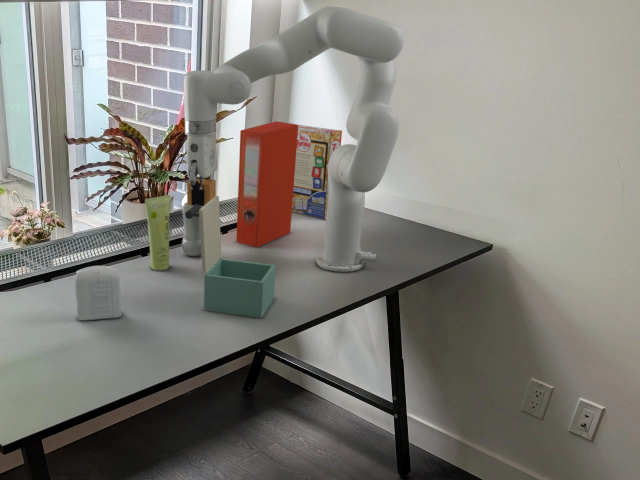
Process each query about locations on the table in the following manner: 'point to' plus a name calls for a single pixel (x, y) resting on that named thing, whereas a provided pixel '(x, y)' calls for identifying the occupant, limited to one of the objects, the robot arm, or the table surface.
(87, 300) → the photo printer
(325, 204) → the board game
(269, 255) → the table surface
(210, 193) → the orange cube
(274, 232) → the file binder
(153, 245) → the tube
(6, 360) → the table surface
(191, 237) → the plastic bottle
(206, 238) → the lid
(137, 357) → the table surface
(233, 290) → the open storage box
